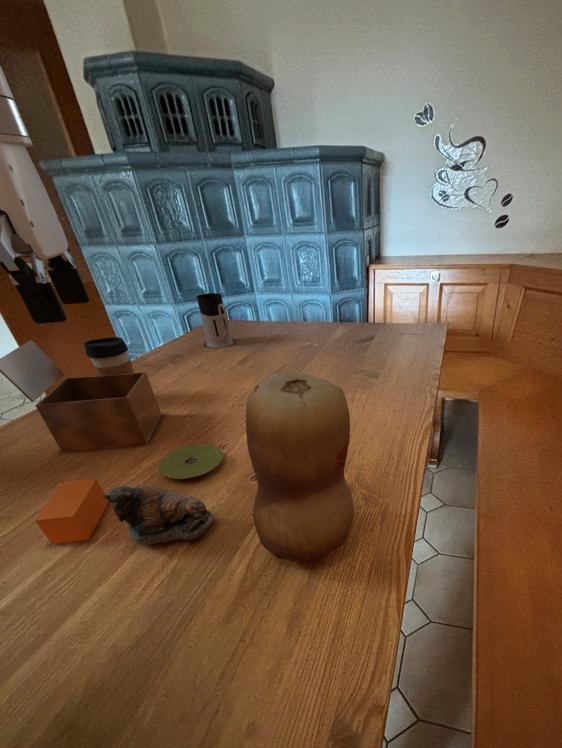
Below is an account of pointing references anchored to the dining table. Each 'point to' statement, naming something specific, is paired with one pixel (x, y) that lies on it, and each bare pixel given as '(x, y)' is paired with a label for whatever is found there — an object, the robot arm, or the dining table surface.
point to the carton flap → (30, 370)
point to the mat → (190, 461)
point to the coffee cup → (109, 356)
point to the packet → (73, 511)
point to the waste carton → (101, 411)
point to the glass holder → (214, 320)
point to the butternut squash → (299, 465)
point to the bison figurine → (159, 514)
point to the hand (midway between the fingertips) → (65, 311)
